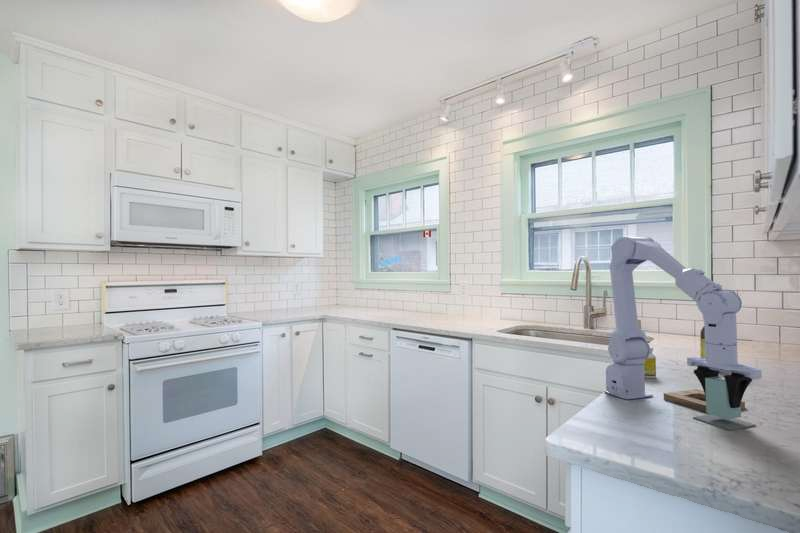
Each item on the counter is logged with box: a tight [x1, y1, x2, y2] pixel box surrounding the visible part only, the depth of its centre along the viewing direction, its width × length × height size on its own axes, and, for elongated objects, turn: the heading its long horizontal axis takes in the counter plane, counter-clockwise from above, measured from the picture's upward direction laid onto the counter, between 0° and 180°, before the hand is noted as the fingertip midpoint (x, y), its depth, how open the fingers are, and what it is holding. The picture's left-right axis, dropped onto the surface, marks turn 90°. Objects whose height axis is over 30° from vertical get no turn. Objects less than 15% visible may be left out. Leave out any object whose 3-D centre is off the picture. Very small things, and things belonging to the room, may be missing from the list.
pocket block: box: [663, 388, 746, 413], centre depth 104 cm, size 12×12×2 cm
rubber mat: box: [692, 414, 757, 431], centre depth 90 cm, size 8×8×1 cm
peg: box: [705, 375, 742, 419], centre depth 91 cm, size 4×4×8 cm
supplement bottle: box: [644, 345, 657, 379], centre depth 132 cm, size 5×5×10 cm
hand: (722, 404), depth 91 cm, fingers closed on peg, 4 cm apart
